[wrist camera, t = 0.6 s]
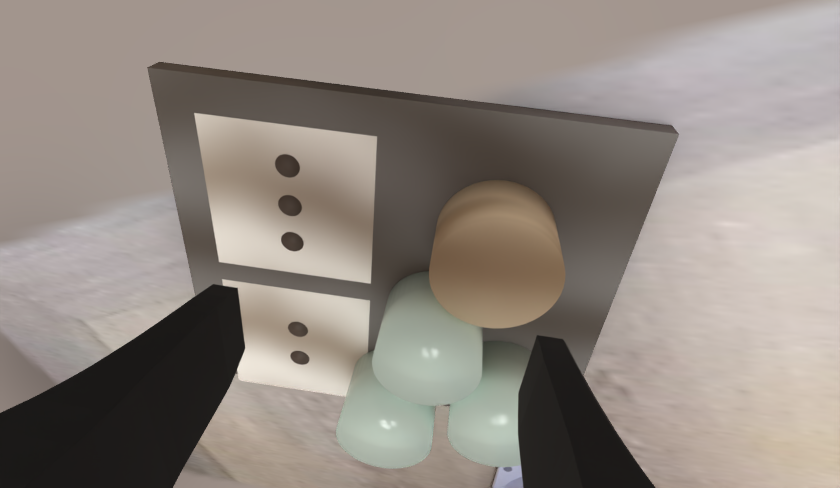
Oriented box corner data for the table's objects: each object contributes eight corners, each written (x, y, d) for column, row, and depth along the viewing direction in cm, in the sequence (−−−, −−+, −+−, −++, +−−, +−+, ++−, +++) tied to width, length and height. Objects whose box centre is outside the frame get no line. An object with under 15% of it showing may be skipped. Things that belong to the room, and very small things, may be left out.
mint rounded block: (433, 412, 27) (426, 474, 24) (352, 400, 27) (336, 460, 24) (442, 355, 25) (436, 416, 22) (354, 342, 25) (335, 401, 22)
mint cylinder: (475, 350, 24) (473, 412, 21) (384, 337, 24) (370, 397, 21) (490, 278, 22) (490, 337, 19) (389, 264, 22) (374, 320, 19)
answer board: (559, 417, 27) (561, 429, 27) (218, 364, 28) (212, 376, 28) (672, 125, 18) (679, 134, 17) (159, 61, 19) (146, 67, 18)
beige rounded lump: (541, 287, 22) (547, 336, 19) (430, 272, 22) (422, 318, 19) (569, 188, 19) (581, 231, 17) (443, 172, 19) (436, 211, 17)
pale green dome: (533, 409, 26) (537, 473, 23) (448, 395, 26) (442, 458, 23) (552, 348, 24) (561, 412, 21) (459, 334, 24) (453, 395, 21)
